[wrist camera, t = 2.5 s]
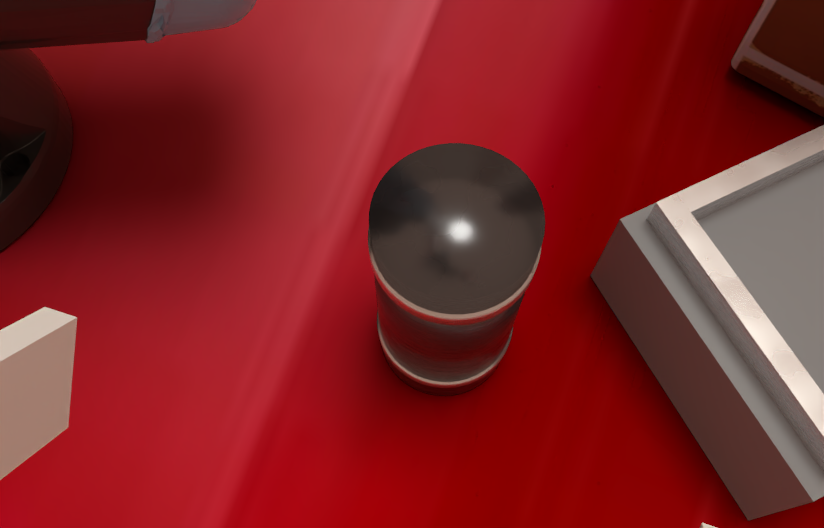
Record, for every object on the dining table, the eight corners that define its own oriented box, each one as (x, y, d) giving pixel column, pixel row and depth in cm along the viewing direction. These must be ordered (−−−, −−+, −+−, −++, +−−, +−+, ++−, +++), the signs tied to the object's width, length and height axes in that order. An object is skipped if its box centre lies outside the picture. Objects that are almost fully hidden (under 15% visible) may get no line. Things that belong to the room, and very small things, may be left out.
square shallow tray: (748, 520, 34) (813, 501, 28) (590, 275, 39) (619, 219, 33) (991, 382, 36) (1093, 340, 31) (814, 169, 41) (876, 100, 36)
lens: (414, 420, 36) (415, 332, 25) (357, 307, 38) (336, 181, 27) (531, 362, 37) (582, 255, 26) (469, 256, 39) (492, 116, 28)
